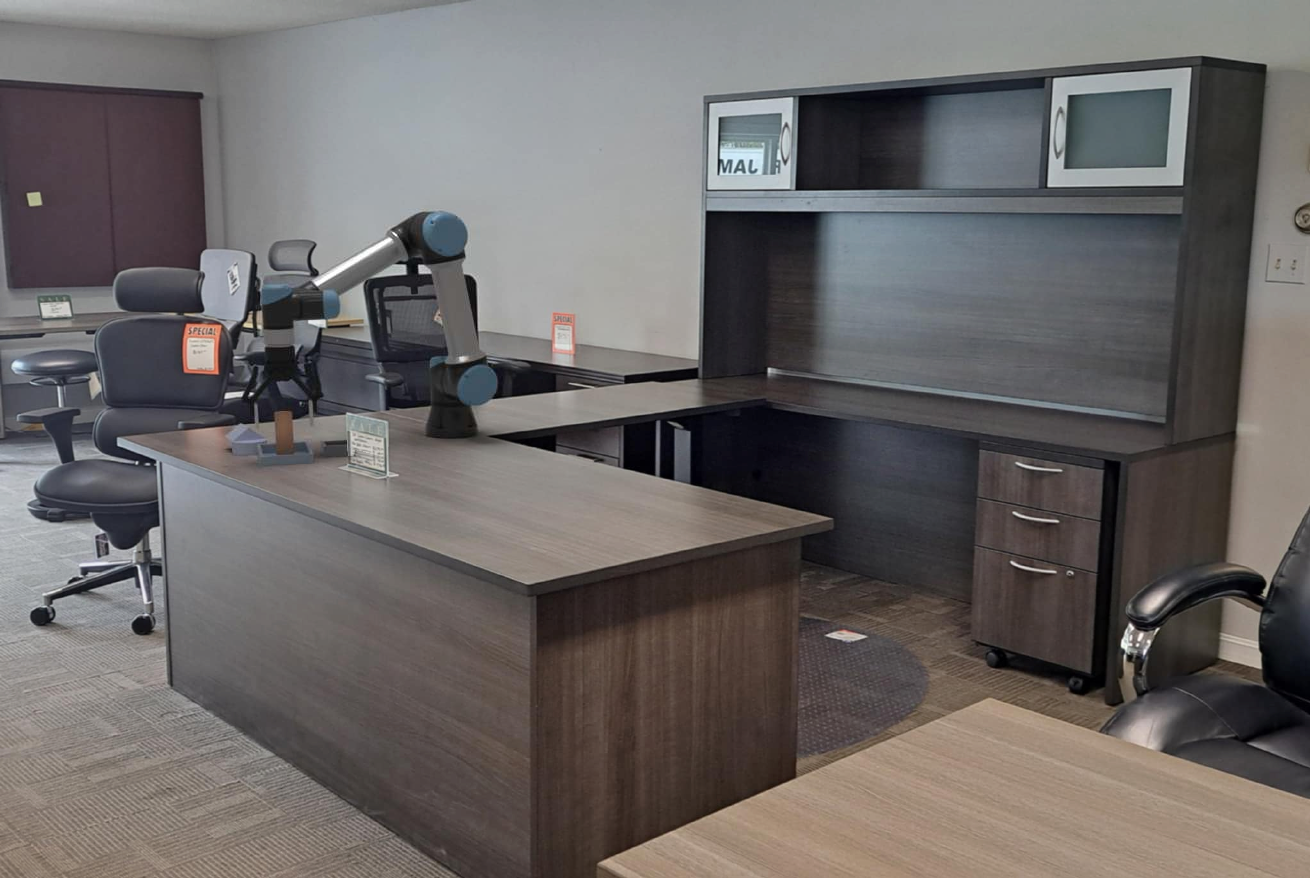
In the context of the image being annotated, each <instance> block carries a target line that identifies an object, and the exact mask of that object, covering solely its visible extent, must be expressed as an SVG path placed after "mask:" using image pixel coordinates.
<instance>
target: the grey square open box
mask: <svg viewBox="0 0 1310 878" xmlns="http://www.w3.org/2000/svg"><path fill="white" fill-rule="evenodd" d="M347 440H348V439H339V440H338V439H337V440H321V441H320V453H321V456H322V457H323V458H324V459H330V458H347V456H348V451H347Z"/></svg>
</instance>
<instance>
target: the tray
mask: <svg viewBox="0 0 1310 878" xmlns="http://www.w3.org/2000/svg"><path fill="white" fill-rule="evenodd" d="M256 456H257V459H258V462H259V463H258V464H259V467H260V468H262V467H273V466H274V467H275V466H288V465H289V466H292V465H305V464H315V453H314V451H313V449H312V447H311V445H310V443H309V441H296V442H295V441H294V454H291V455H277V454H276V442H275V443H267V444H257V455H256Z"/></svg>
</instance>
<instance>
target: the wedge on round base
mask: <svg viewBox="0 0 1310 878" xmlns="http://www.w3.org/2000/svg"><path fill="white" fill-rule="evenodd" d="M224 438H226V439H227V440H229V441H230V442H231V448H232V450H231V451H232V454H233V455H236V456H257V444H268V438H266V437H264V436H263V435H261V434H260V433H259V432H257V431H255V430H254V429H252V428H250V427H248V426H246V425H245V424H243V423H238V424H237V425H236V426H235V427H234V428H233V429H232V430H231V431H230V432H228V433H227V434H226V435H225V436H224Z"/></svg>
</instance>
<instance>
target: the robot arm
mask: <svg viewBox="0 0 1310 878" xmlns="http://www.w3.org/2000/svg"><path fill="white" fill-rule="evenodd" d="M468 233H469V232H468V229H467V227H466V225H465V222H464V221H463V220H462V219H461V218H460V217H459V216H457V215H456V214H454V213H452V212H448V211H443V210H438V211H436V210H434V211H420V212H417V213H415V214H413V215H411V216H409V217H408V218H406V219H404V221H402V222H400V223H398V224H397V225H395V226H393V227H392V228H390V229H388V230H387V231H386V233H385V236H383V237H382V238H381V239H378V240H377V241H376V242H373V243H372V244H370V245H369V246H367V247H365V248H363V249H362V250H360V251H357V252H356V253H355V254H353V255H351V256H349V257H348V258H346V259H344V260H343V261H341V262H339V263H337V264H335V265H334V266H332V267H330V268H329V269H327V270H325V271H323V272H322V273H320V274H319V275H316V276H315V277H313V278H312V279H310V280H308V281H307V282H305V283H303V284H301V285H299V286H293V287H292V286H291V285H290V284H287V283H283V284H282V283H277V284H274V283H273V284H265V285H263V286H262V287H261V292H260V293H261V295H260V298H261V300H260V305H261V315H262V327H263V328H262V329H263V333H262V334H263V344H264V345H265V347H264V348H263V349H264V360H265V363H264V365H257V364H253V366H252V374H251V376H250V378H249V380H248V382H247V384H246V387H245V389H244V391H243V394H242V395H241V398H240V399H241V402H243V403H246V404H248V405H249V407H248V408H249V415H250V417H254V424H255V427H254V428H255V430H257V431H258V430H260V427H259V426H260V425H259V424H260V422H259V411H258V409H259V407H258V403H257V402H256V401H257V400H258V398H260V396H261V395H262V394H263V392H264V391H265V390H266V388H267V387H268V386H269V385H270V384H271V383H272V382H274V383H275V382H276V383H279V382H285V383H287V382H289V381H293V382H294V383H295V384H296V385H297V386H298V387H299V388H300V389H301V390H302V391H303V392H304V393H305V394H306V395H307V397H309V398H310V399H308V413H309V414H308V416H309V417H308V418H309V425H310V427H315V423H314V413H317V412H318V400H320V399H322V398H324V396H325V394H324V393H323V392H322V390H321V388H320V386H319V384H318V383H317V381H316V379H315V378H314V376H313V374H312V373H311V370H310V366H309V363H308V362H307V361H305V362H303V363H299V364H298V363H297V359H296V346H295V345H294V344H295V343H296V342H295V341H296V340H295V326H294V325H295V324H294V323H295V322H301V321H319V320H320V321H321V320H323V321H324V320H325V321H327V320H332V319H333V320H335V319H337V318H338V317H339V316H340V312H341V301H340V298H339V297H340V296H342V295H344V294H345V293H348V292H349V291H351V290H353V289H354V288H355V287H357V286H359V285H360V284H362V283H364V282H366V281H367V280H369V279H371V278H372V277H374V276H376V275H377V274H379V273H381V272H383V271H385V270H386V269H388V268H390V267H391V266H393V265H395V264H396V263H398V262H400V261H402V262H407V261H409V260H411V259H413V258H415V257H418V256H421V257H422V263H423V265H424V267H426V268H427V269H428V270H430V272H431V278H432V281H433V282H432V283H433V287H434V291H435V296H436V301H437V305H438V310H439V311H438V312H439V315H440V319H441V323H442V328H443V334H444V338H445V342H446V348H447V353H448V355H443V356H442V355H441V356H439V355H438V356H433V357H431V359H430V360H429V368H428V370H429V386H430V387H429V388H430V391H429V392H430V393H429V394H430V410H429V413H428V417H427V421H426V423H425V424H426V425H425V430H424V431H425V435H426V436H428V437H431V438H442V439H443V438H444V439H451V438H452V439H453V438H464V437H465V438H468V437H472V436H475V435H478V433H479V428H478V423H477V421H476V416H475V414H474V411H473V409H472V406H476V407H477V406H482V405H485V404H487V403H488V402H490V401H491V400H492V399H493V397H494V395H495V394H496V393H497V391H498V385H499V384H498V376H497V374H496V371H494V369H492V367H490V366H489V362H488V358H487V354H486V352H485V351H484V350H482V349H480V346H479V341H478V336H477V332H476V326H475V322H474V317H473V311H472V308H471V302H470V299H469V293H468V289H467V288H468V287H467V283H466V278H465V273H464V269H463V263H464V261H465V260H466V258H467V255H466V250H465V247H466V246H467V244H468V239H469V234H468ZM299 369H300V370H301V372H304V374H305V375H306V376H307V379H308V380H309V382H310V383H311V385H312V387H313V388H314V390H315V392H316V393H313V392H312V391H311V390H310V388H309V387H308V386H307V385H305V384H304V382H302V380H300V379H299V377H298V376H296V373H297V372H298V370H299ZM263 371H264V373H266V375H267V376H266V377H265V379H264V380H263V381H262V383H260V385H259V387H257V389H256V390H255V391H254V393H252V395H251V396H250V394H251V391H252V389H253V387H254V385H255V384H256V383H255V382H256V381H257V378H258V375H260V374H262V372H263ZM249 396H250V397H249Z"/></svg>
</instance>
